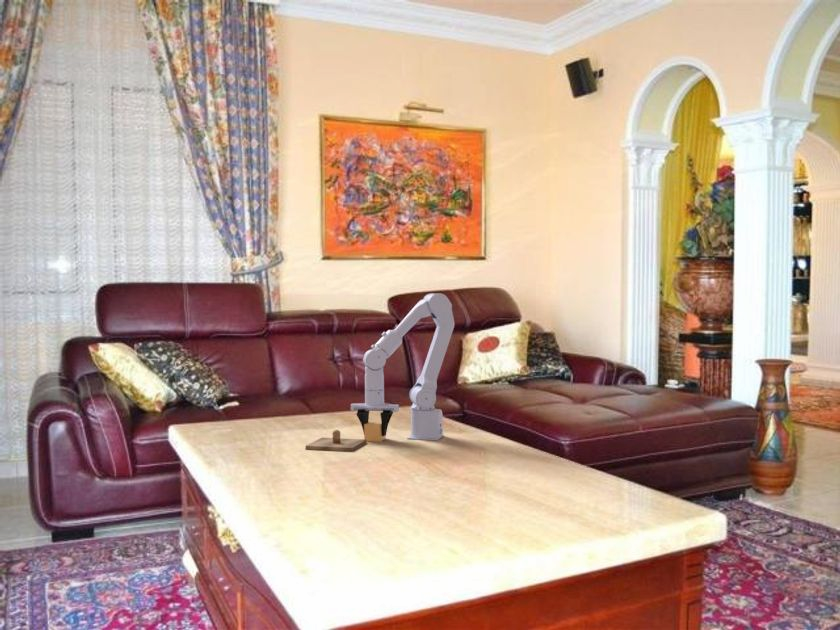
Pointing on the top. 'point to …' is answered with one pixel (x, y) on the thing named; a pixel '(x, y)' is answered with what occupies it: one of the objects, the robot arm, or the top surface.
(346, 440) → the brown rectangular slab
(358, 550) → the top surface
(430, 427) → the robot arm
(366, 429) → the orange cube
